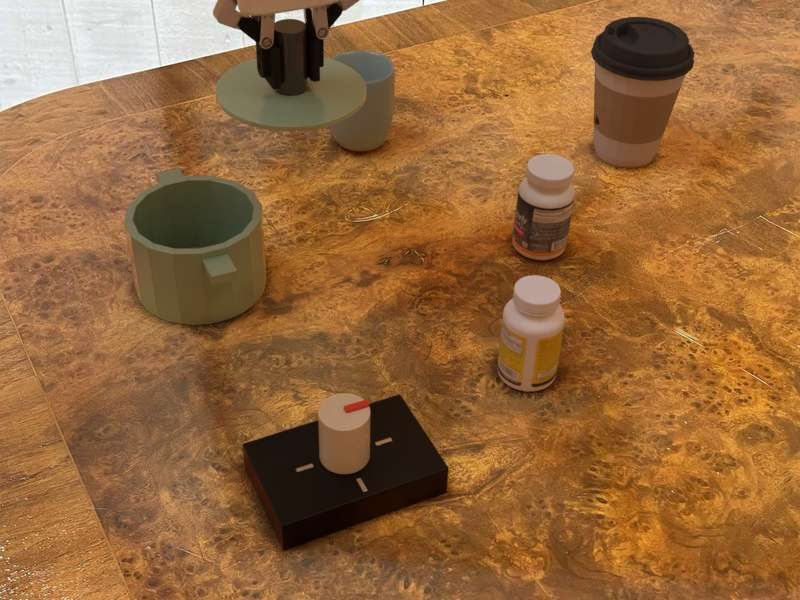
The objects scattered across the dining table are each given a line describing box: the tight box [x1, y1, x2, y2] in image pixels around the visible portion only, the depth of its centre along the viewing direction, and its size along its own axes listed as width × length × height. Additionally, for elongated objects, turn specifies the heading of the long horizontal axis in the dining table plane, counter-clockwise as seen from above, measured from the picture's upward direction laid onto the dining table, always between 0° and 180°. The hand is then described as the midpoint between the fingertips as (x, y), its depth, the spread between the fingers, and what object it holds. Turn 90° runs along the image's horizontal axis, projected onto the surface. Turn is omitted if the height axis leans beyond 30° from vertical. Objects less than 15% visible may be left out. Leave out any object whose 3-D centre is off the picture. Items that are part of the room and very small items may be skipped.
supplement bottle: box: [496, 274, 566, 392], centre depth 94 cm, size 5×5×10 cm
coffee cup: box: [590, 16, 695, 169], centre depth 122 cm, size 11×11×15 cm
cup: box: [329, 50, 396, 152], centre depth 123 cm, size 8×8×10 cm
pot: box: [123, 167, 267, 326], centre depth 103 cm, size 13×18×8 cm
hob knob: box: [317, 392, 371, 474], centre depth 83 cm, size 4×4×5 cm
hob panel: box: [241, 393, 449, 551], centre depth 86 cm, size 14×9×3 cm, turn 115°
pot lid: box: [215, 18, 367, 132], centre depth 95 cm, size 14×14×7 cm
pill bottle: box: [511, 153, 576, 261], centre depth 109 cm, size 6×6×10 cm
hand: (290, 76), depth 96 cm, fingers closed on pot lid, 3 cm apart
